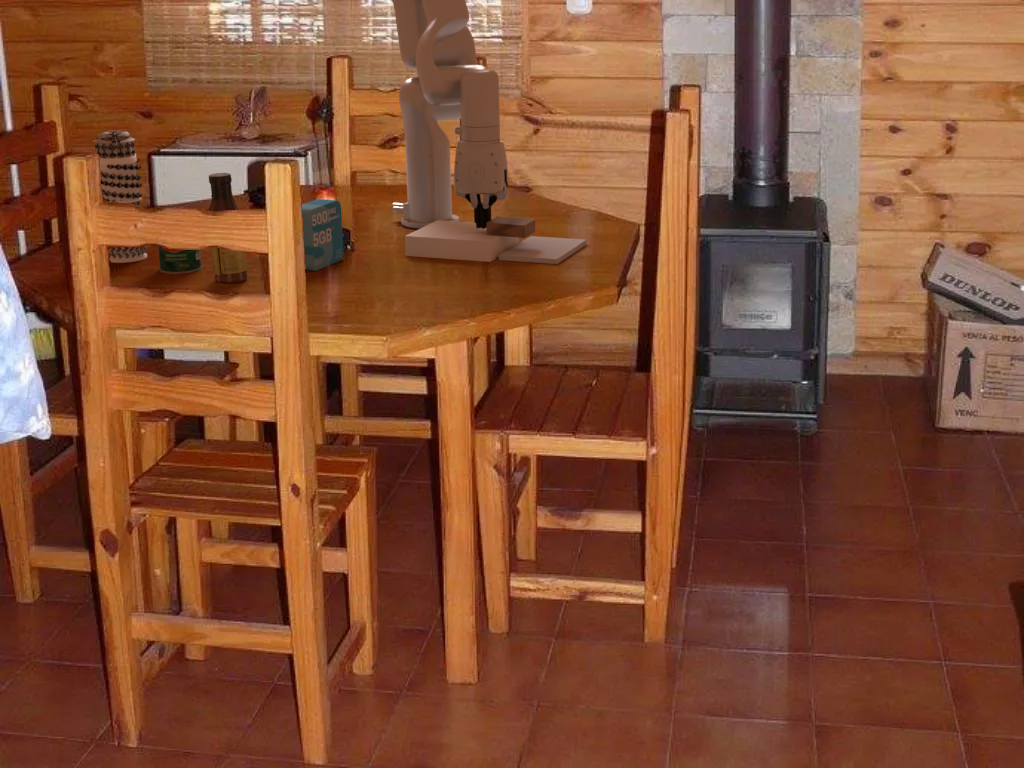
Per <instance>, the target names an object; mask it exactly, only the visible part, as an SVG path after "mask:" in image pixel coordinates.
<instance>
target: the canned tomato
mask: <svg viewBox="0 0 1024 768" xmlns="http://www.w3.org/2000/svg"><path fill="white" fill-rule="evenodd" d="M157 248H158V249H157V250H158V262H159V271H160V273H163V274H168V275H169V274H170V275H182V274H183V275H184V274H189V273H195V272H198V271H200V270H201V269H202V259H201V249H200V250H175V249H168V248H165V247H161V246H158V245H157Z"/></svg>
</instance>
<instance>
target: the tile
mask: <svg viewBox="0 0 1024 768" xmlns="http://www.w3.org/2000/svg"><path fill="white" fill-rule="evenodd" d="M534 233H536V219H535V218H525V217H512V216H511V217H509V216H495V217H494V218H491V220H490V221H488V222H487V235H493V236H505V237H518V238H519V239H527V238H528V237H530V236H532V234H534Z"/></svg>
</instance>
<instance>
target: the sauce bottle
mask: <svg viewBox="0 0 1024 768" xmlns="http://www.w3.org/2000/svg"><path fill="white" fill-rule="evenodd" d="M208 183H209V184H210V191H211V201H210V202H211V203H210V206H209V207H208V210H210V211H223V210H235V209H238V210H239V208H238V206H237V203H236V200H235V199H234V196H233V190H232V174H231V173H229V172H216V173H211V174H209V175H208ZM210 253H211V263H212V271H213V274H214V280H215V282H217V283H222V284H233V283H234V284H235V283H240V282H243V281H245V280H247V278H248V262H247V261H248V260H247V255H246V254H247V252H246V251H245V252H236V251H230V250H225V249H220V248H211V247H210Z"/></svg>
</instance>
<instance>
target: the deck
mask: <svg viewBox="0 0 1024 768" xmlns="http://www.w3.org/2000/svg"><path fill="white" fill-rule="evenodd" d="M404 241H405V242H404V243H405V245H404V246H405V256H406V257H414V258H415V257H416V258H417V257H418V258H419V257H421V258H432V259H442V260H443V259H445V260H458V261H459V260H460V261H472V262H473V261H474V262H488V263H491V262H492V261H493V262H494V261H495V260H496V259H499V255H500V254H501V253H503V252H505V251H506V250H508V249H510V248H511V247H513V246H515V245H517V244H518V243H520V238H518V237H505V236H493V235H487V227H486V228H485V229H482V228H476V223H475V222H474V221H460V220H459V221H443V220H437V221H435V222H433V223H431V224H429V225H427V226H425V227H422V228H417V229H416V230H414V231H412V232H410V233H408V234H406V235H405V236H404Z"/></svg>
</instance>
